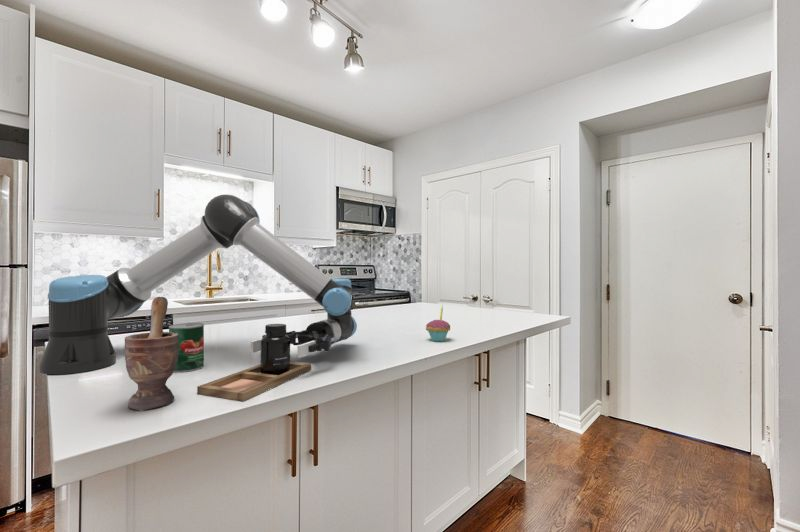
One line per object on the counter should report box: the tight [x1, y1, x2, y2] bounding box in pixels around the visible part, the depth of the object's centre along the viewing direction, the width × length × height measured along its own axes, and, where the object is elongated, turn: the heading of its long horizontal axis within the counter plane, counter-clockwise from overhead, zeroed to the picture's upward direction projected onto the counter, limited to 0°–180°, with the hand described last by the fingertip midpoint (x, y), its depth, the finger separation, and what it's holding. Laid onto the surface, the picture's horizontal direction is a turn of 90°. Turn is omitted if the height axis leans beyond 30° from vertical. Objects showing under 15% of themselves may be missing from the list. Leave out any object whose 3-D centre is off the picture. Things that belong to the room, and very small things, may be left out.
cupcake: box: [425, 305, 451, 342], centre depth 133 cm, size 9×8×12 cm
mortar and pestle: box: [124, 296, 178, 412], centre depth 74 cm, size 12×9×20 cm
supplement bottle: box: [259, 323, 291, 375], centre depth 92 cm, size 7×7×12 cm
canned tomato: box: [168, 322, 205, 373], centre depth 98 cm, size 8×8×11 cm
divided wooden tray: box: [196, 361, 312, 402], centre depth 87 cm, size 12×23×2 cm, turn 159°
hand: (274, 349), depth 91 cm, fingers open, 13 cm apart
